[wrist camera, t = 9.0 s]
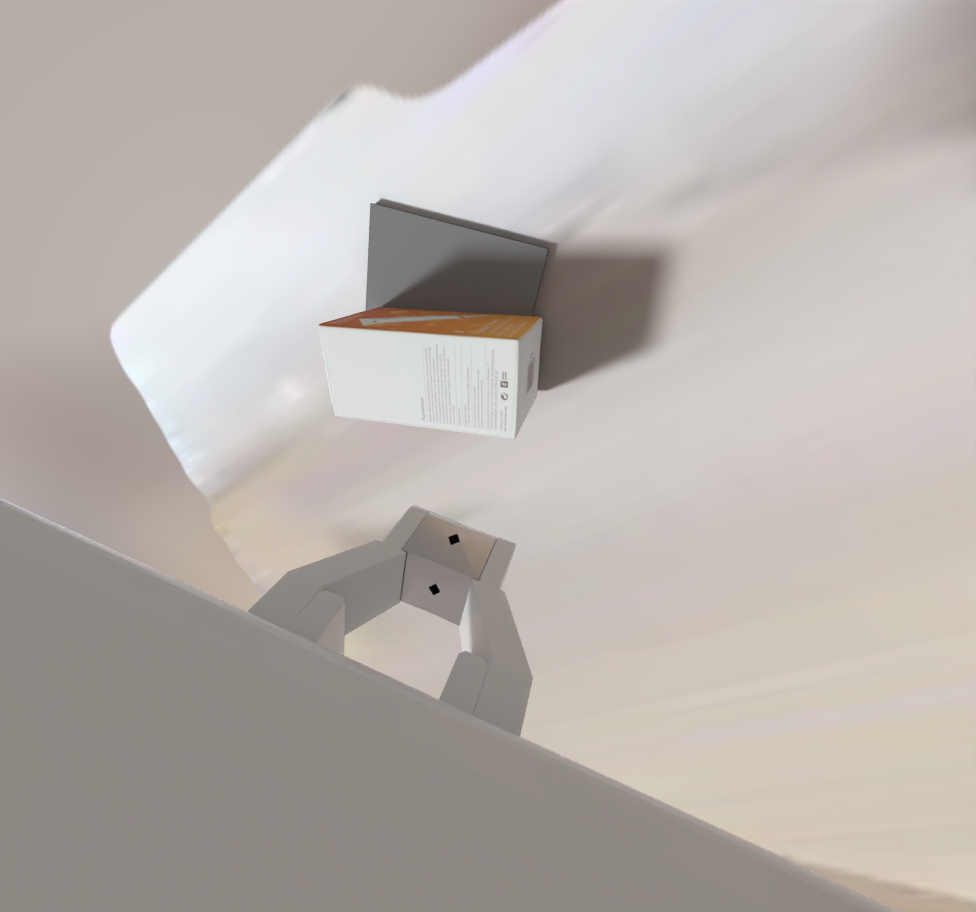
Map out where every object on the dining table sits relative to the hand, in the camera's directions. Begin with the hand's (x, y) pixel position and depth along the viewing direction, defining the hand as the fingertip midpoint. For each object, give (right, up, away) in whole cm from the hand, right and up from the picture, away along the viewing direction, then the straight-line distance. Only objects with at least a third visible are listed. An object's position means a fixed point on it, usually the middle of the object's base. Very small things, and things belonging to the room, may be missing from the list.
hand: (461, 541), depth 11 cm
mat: (-2, +13, +20) cm, 24 cm away
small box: (+4, +8, +16) cm, 18 cm away
